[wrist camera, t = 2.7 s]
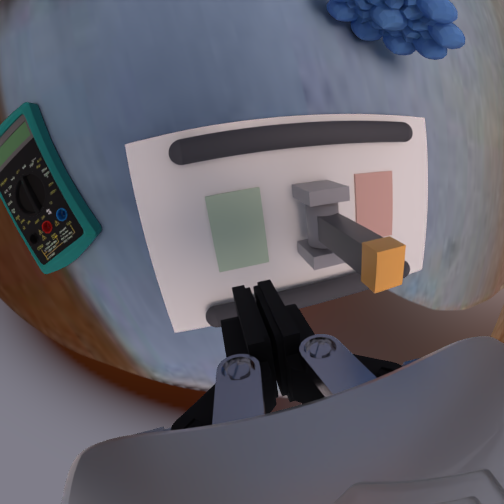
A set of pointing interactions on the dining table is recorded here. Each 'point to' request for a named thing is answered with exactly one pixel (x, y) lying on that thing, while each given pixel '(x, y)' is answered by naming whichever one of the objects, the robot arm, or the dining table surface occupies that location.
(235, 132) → the pair of dark bars
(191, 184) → the switch base plate
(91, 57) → the dining table surface
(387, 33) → the grapes
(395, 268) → the breaker lever
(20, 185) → the digital multimeter
